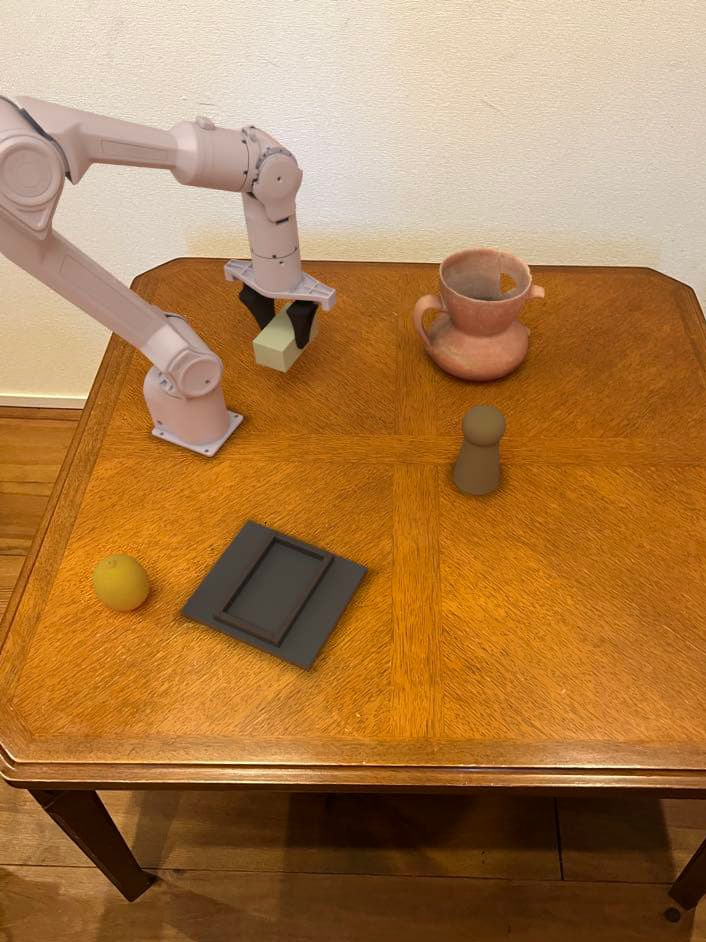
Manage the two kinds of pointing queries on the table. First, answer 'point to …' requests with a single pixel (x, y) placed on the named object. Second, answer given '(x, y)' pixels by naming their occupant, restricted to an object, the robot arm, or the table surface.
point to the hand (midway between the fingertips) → (287, 339)
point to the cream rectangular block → (280, 342)
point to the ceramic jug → (478, 315)
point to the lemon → (120, 582)
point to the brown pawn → (480, 450)
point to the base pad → (276, 594)
